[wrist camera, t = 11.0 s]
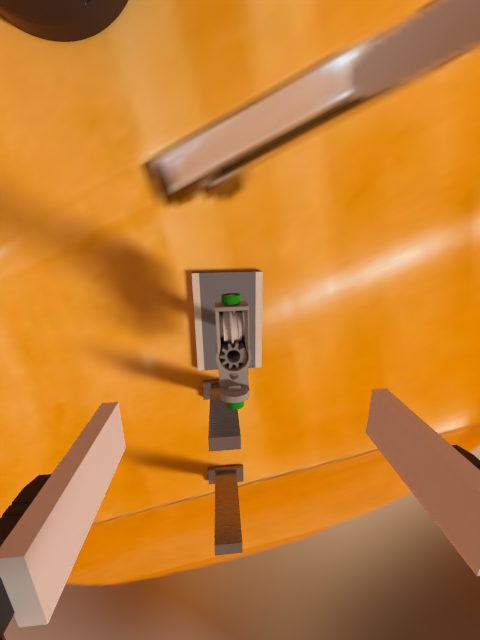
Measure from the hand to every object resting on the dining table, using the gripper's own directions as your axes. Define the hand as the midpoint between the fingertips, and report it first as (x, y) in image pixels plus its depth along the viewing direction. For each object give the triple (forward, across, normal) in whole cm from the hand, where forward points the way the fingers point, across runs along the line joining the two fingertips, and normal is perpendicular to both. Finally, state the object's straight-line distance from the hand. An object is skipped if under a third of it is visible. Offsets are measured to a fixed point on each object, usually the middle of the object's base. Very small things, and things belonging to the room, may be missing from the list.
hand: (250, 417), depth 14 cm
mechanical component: (+19, 0, -1) cm, 19 cm away
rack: (+19, -1, -17) cm, 25 cm away
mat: (+19, 0, -1) cm, 19 cm away
